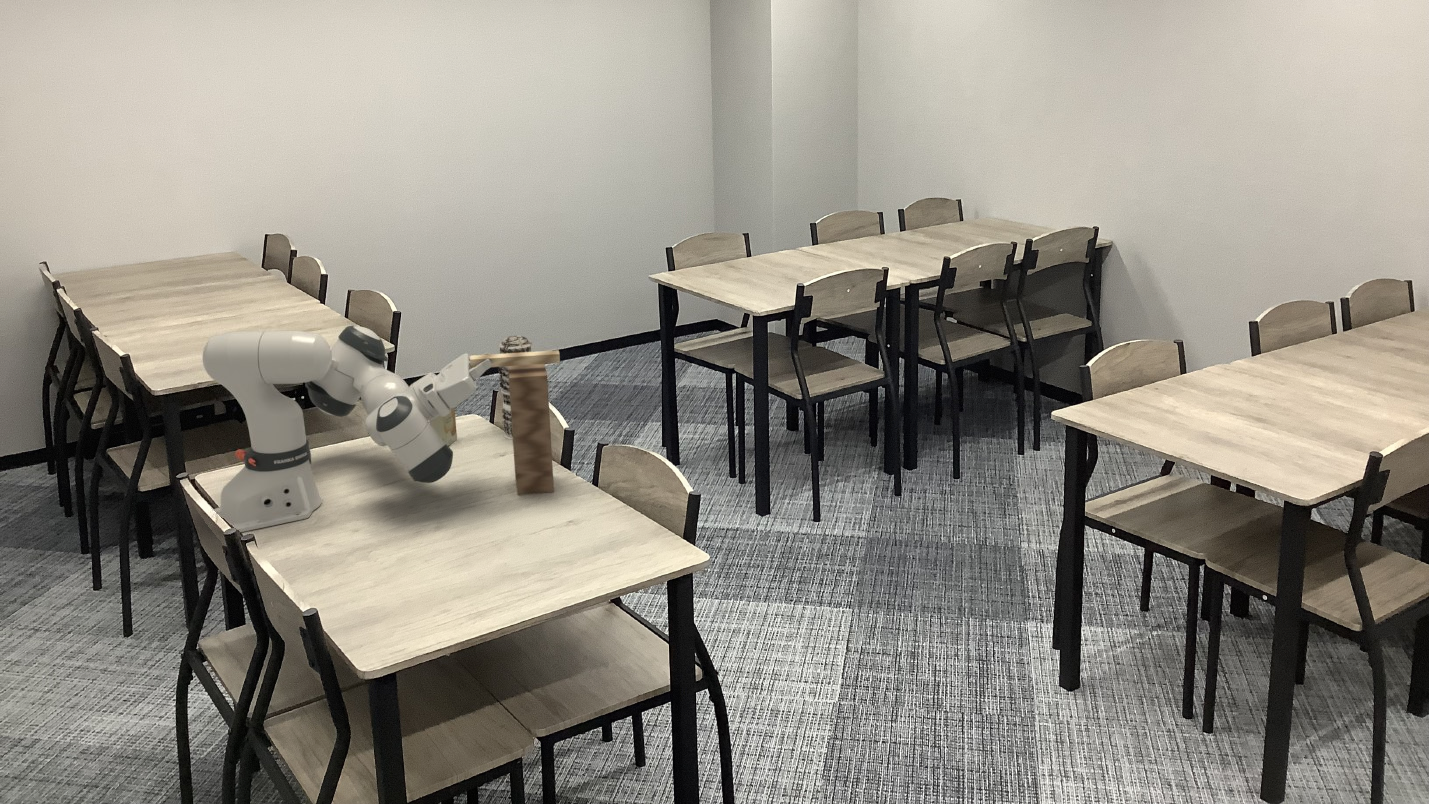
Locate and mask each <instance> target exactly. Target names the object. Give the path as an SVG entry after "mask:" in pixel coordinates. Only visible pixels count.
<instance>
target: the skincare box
mask: <svg viewBox="0 0 1429 804" xmlns="http://www.w3.org/2000/svg"><path fill="white" fill-rule="evenodd" d="M455 409H456V407H454V408H452V409H451V412H450V413H449V414H448V415H446V416H444V417H442V416H440V415H439V416H438V417H436V418H434V419H432V420H429V423H430V425H431V426H432V427H433V428H434V430H435V431H436V432H437V434H438V435H439V436H440V438H441V439H442V440H443V441H444V443H445V444H447V446H448V447H449V446H450V445H452V444H453V443H454V442H455V441H456V440H458V434H457V433H458V432H457V423H456V422H457V421H456V420H457V419H456V410H455Z"/></svg>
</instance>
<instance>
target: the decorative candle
mask: <svg viewBox="0 0 1429 804" xmlns="http://www.w3.org/2000/svg"><path fill="white" fill-rule="evenodd" d="M532 344H533V342H531V341H530V340H528V338H527V337H526V336H523V335H522V336H521V335H511V336H505V338H503V339H502V341H501V342H500V343H499V344H498V347H499V354H506V353H522V352H532V348H531V346H533V345H532ZM497 371H498V374H499V377H498V379H499V387H500V388H501V389H500V392H501V394H502V400H503V401H502V410H501V411H502V414H503V415H502V419H504V420H503V421H502V424H503V427H502V428H503V431H504V433H503V436H504V437H505V439H508V440H511V441H513V436H512V421H511V406H510V392H509V377H508V366H503V367H498V369H497Z"/></svg>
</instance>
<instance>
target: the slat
mask: <svg viewBox="0 0 1429 804" xmlns="http://www.w3.org/2000/svg"><path fill="white" fill-rule="evenodd" d="M489 354H490V355H483V354H479V355H478V354H477V355H474V354H473V355H469V356H470V364H471V368H473V367H474V368H475V367H476V366H477V365H479V364H480V363H481V362H482V361H483V360H485V359H486V358H489V359H490V361H491V362H492V367H491V368H499V367H503V366H518V365H534V364H545V365H548V364H560V363H561V359H560V358H561V356H560V351H559V349H558V350H555V349H554V350H543V351H542V350H541V351H540V350H538V351H531V352H522V353H506V354H500V353H489Z"/></svg>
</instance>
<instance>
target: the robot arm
mask: <svg viewBox="0 0 1429 804" xmlns="http://www.w3.org/2000/svg"><path fill="white" fill-rule="evenodd" d="M490 354H491V353H489V352H485V353H483V354H482V355H490ZM470 356H471V355H470V354H469V353H467V352H466V353H463V354H461V355H460V356H458V357H457V358H455V359H454V360H452V361H451V362H450V363H448V364H446V365H445V366H444V367H442V368H441V370H439V373H438V374H435V373H434V372H433V371H432V372H429V373H427V374H426V375H424V376H422V377H421V378H419V379H418V380H416V381H414V382H413V383H411V384H410V385H408V384H407V382H406V381H405V380H404V379H403V378H402V376H400V375H398V374H397V373H394V372H392V371H390V370H388V369H385V367H384V364H385V362H388V361H389V358H388V356H386V347H385V345H384V342H383V340H382V338H380V337H379V336H378V335H377V333H376V332H374V331H373V330H371V329H370V328H367V327H364V326H358V325H357V326H356V325H348V326H346V327H345V328H344V329H343V330H342V331H341V333H340V334H339V335H338V339H337V340H336V341H335V343H334V344H333V346H332V348H331V346H330V345H329V343H328V341H327V340H326V338H325V337H324V336H323V335H321V334H319V333H314V332H309V331H303V330H302V331H301V330H251V331H250V330H247V331H246V330H243V331H231V332H225V333H220V334H216V335H214V336H211V337H210V338H209V339H208V341H207V342H206V343H205V345H204V348H203V351H202V365H203V368H204V371H205V372H206V373H207V374H208V376H209V377H210V378H211V379H212V380H213V381H215V382H216V383H218V384H219V385H222V386H223V387H224V388H225V389H226V390H227V391H229V392H230V394H231V395H233V397H234V398H235V399H236V400H237V402H238V404H239V405H240V407H241V408H242V411H243V413H244V415H245V418H246V419H245V420H246V424H247V427H248V433H249V439H250V445H251V446H250V448H249V449H248V450H247V452H246V450H243V449H241V448H240V449H237V450H236V452H235V458H237V459H238V460H240V461H243V463H244V467H242V468H241V470H239V472H238V473H236V474H235V476H233V478H231V479H230V481H228V482H227V483H226V485H224V486H223V488H222V490H221V493H220V507H219V506H218V507H217V508H214V509H213V510H214V511H215V512H216V513H217V514H219V516H221V517H222V518H224V519H225V520H226V521H227V522H228V523H229V524H230V525H232V526H233V527H234V528H236V529H237V530H239V531H240V532H239V533H243V532H248V531H254V530H257V529H263V528H267V527H271V526H277V525H281V524H287V523H291V522H296V521H300V520H305V519H307V518H309V517H310V516H311V515H312V513H313V512H314V511H315V510H316V509H318V508H319V507H320V506H321V505H322V504H323V498H322V497H321V495H320V492H319V491H318V488H317V484H316V482H315V478H314V474H313V470H312V466H311V464H312V453H311V452H312V451H311V447H310V443H309V440H308V439H307V436H306V427H305V421H304V420H305V419H304V412H303V409H302V408H301V406H300V404H299V403H298V402H297V401H296V400H295V399H292V398H290V397H289V396H286V395H284V394H282V393H281V392H280V391H279V390H278V389H277V388H276V387H275V386H274V385H279V384H280V385H284V384H286V385H287V384H288V385H289V384H290V385H291V384H294V385H295V384H302V383H305V388H306V389H307V390H308V391H307V393H308V396H309V399H310V401H311V402H312V404H313V405H314V406H315V407H316V408H318V409H319V411H321V412H322V413H324V414H326V415H328V416H334V417H341V418H342V417H347V416H348V415H349V414H351V412H352V411H353V410H354V409H355V407H356V406H357V404H356V403H357V402H358V401H359V400H360V399H361V403H362V407H363V410H364V411H365V413H366V414H367V416H366V418H365V422H364V423H365V428H366V432H367V433H368V435H369V437H370V438H371V440H372V441H373V442H374V443H376V445H378V446H379V447H387V448H389V450H390V451H391V452H392V453H393V454H394V456H395V457H396V458H397V460H398V461H399V462H400V464H402V466H403V467H404V469H406V471H407V473H408V474H409V476H410V477H411V479H412V480H413V481H414V482H418V483H425V484H431V483H434V482H437V481H439V480H441V479H442V478H444V477H445V476H446V475H447V473H449V472H450V470H451V467H452V465H453V458H454V451H453V450H452V449H451V448H450V447H449V446H447V444H445V443H444V441H443V440H442V439H441V438H440V436H439V435H438V434H437V432H436V431H435V430H434V428H433V427H432V426H431V425H430V420H432V419H434V418H436V417H438V416H439V415H440V416H442V417H444V416H446V415H448V414H449V413H450V412H451V409H452V408H454V407H455V408H456V407H457V406H459V405H460V404H461V403H463V402H464V401H465V400H467V399H468V398H469V397H471V396H472V395H473V394H475V392H476V391H477V389H478V387H477V386H478V385H477V379H478V378H480V377H481V376H482V375H483V374H484V373H485V372H486V371H488V370H489V369H490V368H493V367H492V362H491V361H490V359H489V358H486V359H485V360H483V361H482V362H481V363H480V364H479V365H477V366H476V367H475V368H474V367H473V368H471V364H470Z"/></svg>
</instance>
